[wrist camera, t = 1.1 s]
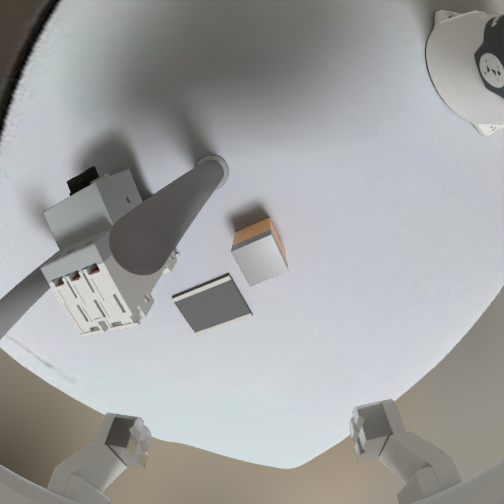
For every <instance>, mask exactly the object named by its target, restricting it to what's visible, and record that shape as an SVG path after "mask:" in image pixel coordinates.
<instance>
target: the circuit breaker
mask: <svg viewBox="0 0 504 504" xmlns="http://www.w3.org/2000/svg"><path fill="white" fill-rule="evenodd" d="M67 184H68V186H69V189H70V191H71V193H69V194H70V197H68V198H66V199H64V200H63V201H61V202H59V203H58V204H56V205H54V206H53V207H51V208H49V209H48V210H46V211H45V212H44V215H45V218H46V220H47V223H48V225H49V227H50V229H51V232H52V234H53V236H54V238H55V240H56V242H57V245H58V247H59V249H60V252H59V253H58V254H57V255H56V256H54V257H53V258H52V259H50V260H49V261H48V262H47V263H46V264H44V265H43V266H42V267H41V271H42V272H43V274H44V276H45V278H46V280H47V282H48V283H49V285H50V287H51V289H52V291H53V293H54V294H55V296H56V298H57V299H58V301H59V303H60V304H61V306H62V308H63V309H64V311H65V313H66V314H67V316H68V317H69V319H70V320H71V322H72V324H73V325H74V327H75V328H79V330H80V331H81V334H80V336H81V337H83V336H88V335H93V334H98V333H103V332H105V331H106V330H107V329H108V328H109V329H110V331H113V330H118V329H123V328H127V327H132V326H137V325H139V324H140V321H139V320H140V319H141V318H142V317H145V316H146V315H147V314H148V312H149V310H150V308H151V306H152V305H153V303H154V300H153V298H152V296H151V294H150V293H151V291H152V289H153V288H154V286H155V284H156V283H157V281H158V279H159V278H160V276H161V275H162V274H165V273H169V272H171V270H172V269H173V267H174V265H175V263H176V262H177V259H176V258H177V257H179V256H180V254H179V252H178V253H176V252H175V250H173V252H172V253H171V255H170V256H169V258H168V259H167V261H166V262H165V264H164V265H163V267H162V268H161V269H160V270H159V271H157V272H155V273H153V274H151V275H136V274H133V273H130V272H128V271H127V270H125V269H124V268H122V267H121V266H120V265H119V264H118V263H117V261H116V260H115V259H114V257H113V255H112V253H111V250H110V245H109V235H110V231H111V228H112V227H113V225H114V224H115V222H116V221H117V220H118V219H120V218H121V217H123V216H124V215H125V214H127V213H128V212H129V211H131V210H132V209H134V208H135V207H136V206H138V205H139V204H141V203H142V202H143V201H142V199H141V196H140V194H139V192H138V189H137V187H136V184H135V182H134V179H133V177H132V174H131V172H130V169H127V170H124V171H121V172H119V173H116V174H114V175H111V176H110V174H109V173H107V174H105V175H103V176H101V177H99V176H98V173H97V171H96V168H95V166H94V167H91V168H89V169H87V170H86V171H84V172H83V173H81V174H80V175H78V176H77V177H74V178H72V179H70V180H69V181H67ZM121 323H122V324H121Z"/></svg>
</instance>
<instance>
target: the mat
mask: <svg viewBox="0 0 504 504" xmlns="http://www.w3.org/2000/svg"><path fill="white" fill-rule="evenodd" d="M172 300H173V302H174V303H175V304H176V306H177V307H178V309H179V310H180V312H181V313H182V315H183V316H184V318H185V319H186V320H187V322H188V323H189V325H190V326H191V327H192V329H193V330H194V332H195V333H196V335H197V336H198V335H201V334H204V333H207V332H210V331H213V330H215V329H218V328H221V327H224V326H227V325H230V324H233V323H236V322H239V321H241V320H244V319H247V318H250V317H252V316H253V314H252V312H251V310H250V309H249V307H248V305H247V304H246V302H245V300H244V298H243V297H242V295H241V293H240V291H239V290H238V288H237V286H236V284H235V283H234V281H233V279H232V277H231V276H230V274H228V275H225V276H223V277H220V278H218V279H216V280H213V281H211V282H208V283H206V284H203V285H201V286H198V287H196V288H194V289H191V290H189V291H186V292H184V293H181V294H179V295H176V296H174V297H172Z"/></svg>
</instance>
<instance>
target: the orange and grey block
mask: <svg viewBox="0 0 504 504" xmlns="http://www.w3.org/2000/svg"><path fill="white" fill-rule="evenodd" d="M231 253H232V255H233V256H234V258H235V260H236V262H237V264H238V266H239V267H240V269H241V271H242V273H243V275H244V277H245V278H246V280H247V282H248V284H249V286H253V285H255V284H258V283H260V282H263V281H265V280H268V279H270V278H273V277H275V276H278V275H280V274H283V273H285V272H288V265H287V260H286V255H285V249H284V247H283V245H282V243H281V240H280V238H279V236H278V234H277V232H276V230H275V228H274V225H273V223H272V221H271V219H270V217H269V218H266V219H264V220H262V221H259V222H257V223H255V224H253V225H250V226H248V227H246V228H244V229H241V230H239V231H237V232H235V237H234V241H233V245H232V250H231Z"/></svg>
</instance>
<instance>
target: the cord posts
mask: <svg viewBox="0 0 504 504" xmlns="http://www.w3.org/2000/svg"><path fill="white" fill-rule="evenodd" d="M228 176H229V169H228V166H227V164H226V162H225V161H224V160H223V159H222V158H220V157H218V156H215V155H209V156H205V157H203V158H201V159H200V160H199V161H198V162H197V163H196V165H195V167H194V168H193V169H192V170H190V171H189V172H187V173H185V174H184V175H182V176H181V177H179V178H178V179H176V180H175V181H173V182H172V183H170V184H169V185H167V186H166V187H164V188H163V189H161V190H160V191H158V192H157V193H155V194H154V195H152V196H151V197H149V198H148V199H146V200H145V201H144V202H142V203H141V204H139V205H138V206H136V207H135V208H134V209H132V210H131V211H129V212H128V213H127V214H125V215H124V216H123V217H121V218H120V219H118V220H117V221H116V222H115V224H114V225H113V227H112V228H111V231H110V235H109V245H110V250H111V253H112V255H113V257H114V259H115V260H116V261H117V263H118V264H119V265H120V266H121V267H122V268H124V269H125V270H127V271H128V272H130V273H133V274H136V275H151V274H153V273H155V272H157V271H159V270H160V269H161V268H162V267H163V265H164V264H165V262H166V261H167V259H168V258H169V256H170V255H171V253H172V252H173V250H174V249H175V247H176V246H177V244H178V243H179V241H180V240H181V238H182V237H183V235H184V234H185V232H186V231H187V229H188V228H189V226H190V225H191V223H192V222H193V220H194V219H195V217H196V216H197V214H198V213H199V212H200V210H201V209H202V207H203V206H204V204H205V203H206V202H207V200H208V199H209V197H210V196H211V194H212V193H213V192H214V190H216V189H219V188H220V187H222V186H223V185H224V184H225V183H226V181H227V179H228ZM59 252H60V250H59V251H58V252H57V253H56V254H54V255H53V256H52V257H50V258H49V259H48V260H47V261H45V262H44V263H43V264H42V265H40V266H39V267H38V268H37V269H35V270H34V271H33V272H32V273H31V274H29V275H28V276H27V277H26V278H25V279H23V280H22V281H21V282H20V283H19V284H18V285H16V286H15V287H14V288H13V289H12V290H11V291H10V292H8V293H7V294H6V295H5V296H4V297H3V298H2V299H1V300H0V340H1V338H2V337H3V336H4V335H5V334H6V333H7V332H8V331H9V330H10V328H11V327H12V326H13V325H14V324H15V323H16V322H17V321H18V320H19V319H20V318H21V317H22V316H23V315H24V314H25V312H26V311H27V310H28V309H29V308H30V307H31V306H32V305H33V304H34V303H35V302H36V301H37V300H38V299H39V298H40V297H41V296H42V295H43V294H44V293H45V292H46V291H47V290H48V289H50V288H51V287H50V285H49V283H48V282H47V280H46V278H45V276H44V274H43V272H42V271H41V267H42V266H43V265H44V264H46V263H47V262H48V261H49V260H50V259H52V258H53V257H54V256H56V255H57V254H58V253H59Z"/></svg>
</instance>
